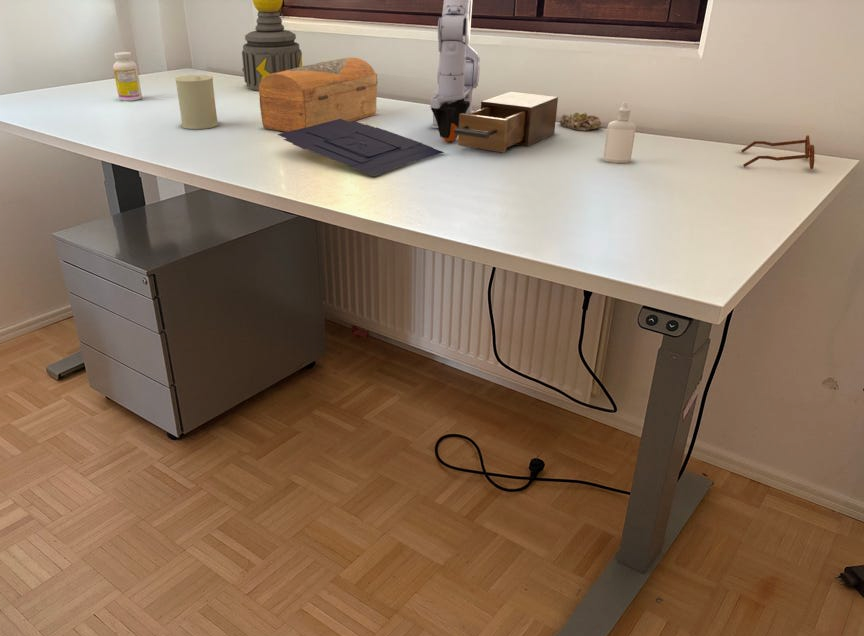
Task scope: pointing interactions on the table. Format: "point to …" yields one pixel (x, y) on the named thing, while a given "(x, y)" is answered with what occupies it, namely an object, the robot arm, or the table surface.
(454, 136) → the ball
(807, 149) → the glasses
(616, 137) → the eye dropper bottle
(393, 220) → the table surface
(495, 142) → the drawer
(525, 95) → the cabinet
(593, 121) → the mineral rock
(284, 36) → the decorative lamp
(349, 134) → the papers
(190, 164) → the table surface
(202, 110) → the can
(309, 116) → the wooden box
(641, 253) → the table surface
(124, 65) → the supplement bottle
